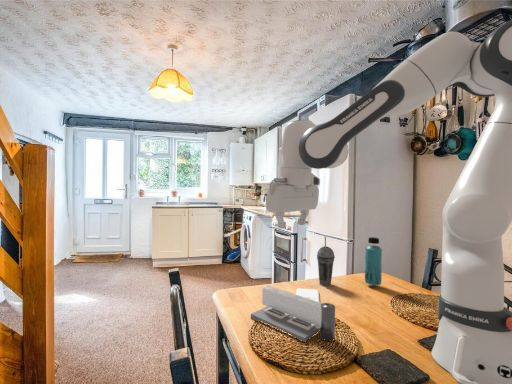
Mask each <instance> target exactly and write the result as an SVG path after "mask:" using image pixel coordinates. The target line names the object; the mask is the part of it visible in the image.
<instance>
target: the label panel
mask: <svg viewBox="0 0 512 384" xmlns="http://www.w3.org/2000/svg"><path fill="white" fill-rule="evenodd" d="M250 319H252V320H254V321H256V320H260V321H263V322H265V323H268V324H270V325H272V326H274V327H277V328H279V329H281V330H283V331H285V332H287V333H289V334H291V335H293V336H294V337H296V338H298V339H300V340H302V341H304V342H305V341H306V340H308V339H309V338H311V337H312V336H313V335H314V334H316V333H317V332H318V331H319V330H320V327H318V326H316V325H313V324H311V323H308V322H306V321H303V320H301V319H298V318H296V317H293V316H291V315H288V314H286V313H283V312H281V311H278V310H276V309H273V308H271V307H268V306H266V307H264V308H261V309H259V310H256V311H254V312H252V313H250ZM312 338H313V337H312ZM312 338H311V339H312ZM302 341H301V342H302ZM308 341H309V340H308ZM304 342H303V343H304ZM305 343H306V342H305Z"/></svg>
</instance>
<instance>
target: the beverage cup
mask: <svg viewBox="0 0 512 384" xmlns="http://www.w3.org/2000/svg"><path fill="white" fill-rule="evenodd" d="M316 257H317V258H316V260H317V267H318V282H319V285H320V286H323V287H329V286H331V285H332V283H331V282H332V279H333V270H334V269H333V267H334V261H335V258H336V257H335V252H334V250H333V249H332V248H331V247H330V246H327V237H326V235H325V236H324V246H322V247H320V248H319V249H318V250H317V253H316Z"/></svg>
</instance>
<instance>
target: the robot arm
mask: <svg viewBox="0 0 512 384" xmlns="http://www.w3.org/2000/svg"><path fill="white" fill-rule="evenodd" d="M452 85H454V86H456V87H458V88H460V89H461V90H464V91H466V93H468V94H470V95H472V96H475V97H477V98H489V97H494V98H495V103H494V107H493V112H492V113H491V115H490V116H489V118H488V120H487V122H486V123H485V126H484V128H483V129H482V131H481V134H480V135H479V138H478V140H477V142H476V143H475V145H474V147H473V149H472V151H471V153H470V155H469V157H468V159H467V160H466V163H465V165H464V167H463V169H462V171H461V173H460V175H459V177H458V179H457V180H456V181H455V182H456V183H455V184H454V186H453V188H452V190H451V192H450V195H449V196H448V198H447V200H446V202H445V204H444V206H443V209H442V212H441V213H442V214H441V216H442V217H441V218H442V245H441V247H442V248H441V282H440V283H441V284H440V295H438V300H437V315H438V321H439V322H438V328H437V333H436V338H435V342H434V345H433V347H432V349H431V357H432V359H434V361H435V363H437V364H438V365H439V366H441V368H443V369H444V370H446V371H447V372H448V373H450V374H451V375H452V377H453V378H454V379H455V381H457V382H458V383H459V384H512V310H509V309H508V308H507V307H505V306H504V305H505V266H504V253H503V237H502V236H504V235H505V233H506V232H507V230H508V228H509V227H510V225H511V223H512V19H511V20H508V21H506V22H504V23H502V24H501V25H500V26H498V27H496V28H495V29H494V30H492V32H491V33H489V35H487V37H486V38H485V39H484V41H483V42H482V43H481V42H480V41H478V42H477V41H472V40H470V38H469V37H467V36H466V35H465V34H463V33H460V32H458V31H447V32H445V33H442V34H440V35H438V36H436V37H435V38H433V39H432V40H430V41H429V42H427V43H425V44H424V45H422V46H421V47H420V48H418V49H417V50H416V51H414V52H413V53H411V54H410V55H409V56H408V57H407V58H405V59H404V60H403V61H401V63H399V65H397V66H396V67H395V68H393V69H392V70H391V72H390V73H388V74H387V75H386V76H385V77H384V78H383V79H382V80H381V81H379V82H378V83H377V84H376V85H375V86H374V87H373V88H372V89H371V90H369V91H368V92H367V93H366V94H365V93H364V95H362V96H361V97H360V98H359V99H357V100H356V101H355V102H354V103H352V104H351V105H349V106H348V107H347V108H346V109H344V110H343V111H342V112H340V113H339V114H338V115H336V116H335V117H333V118H332V119H330V120H328V121H326V122H324V123H321V124H315V123H314V122H313V121H312V120H309V119H297V120H293V121H291V122H289V123H287V124H286V125H285V127H284V129H283V134H282V140H281V141H282V142H281V150H280V151H281V152H280V153H281V157H282V159H281V163H280V169H279V178H278V177H275V178H273V179H272V180H271V181H270V182H269V187H268V190H267V194H266V195H267V196H266V201H265V209H266V211H267V212H268V213H270V214H271V213H272V214H274V216H275V219H276V221H277V228H278V229H280V230H282V229H285V228H286V226H287V222H286V221H285V220H284V217H285V213H291V212H300V216H299V218H298V219H297V225H299V226H305V225H306V219H307V217H308V215H309V211H310V210H315V209H316V208H317V207H318V203H319V192H320V190H319V186H320V185H321V179H320V178H319V176H317V175H315V174H314V173H312V169H316V170H317V169H318V170H321V169H335V168H337V167H339V166H342V165H343V164H344V162H345V161H346V160H347V158H348V155H349V145H348V143H349V142H350V141H352V140H353V139H354V138H356V137H357V136H358V135H360V134H361V133H363V132H364V131H366V130H367V129H368V128H369V127H371V126H373V124H375V123H376V122H378V121H380V120H381V119H382V120H383V118H387V117H390V116H394V115H395V116H397V115H400V116H401V115H402V116H403V115H407V114H409V113H411V112H413V111H415V110H416V109H419V108H421V107H422V106H423V105H425V104H426V103H428V102H429V101H431V100H432V99H434V98H435V97H436V96H438V95H439V94H440V93H442V92H443V91H444V90H445V89H447V88H448V87H450V86H452Z"/></svg>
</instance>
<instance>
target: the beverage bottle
mask: <svg viewBox="0 0 512 384" xmlns="http://www.w3.org/2000/svg"><path fill="white" fill-rule="evenodd" d="M368 243H369V244H368V245H366V247H365V254H364V255H365V257H364V262H365V263H364V264H365V265H364V281H365V284H368V285H372V286H380V285H382V277H383V275H382V251H383V249H382V248H381V246H379V245H378V244H380V239H379V237H372V236H371V237H368ZM376 244H377V245H376Z"/></svg>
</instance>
